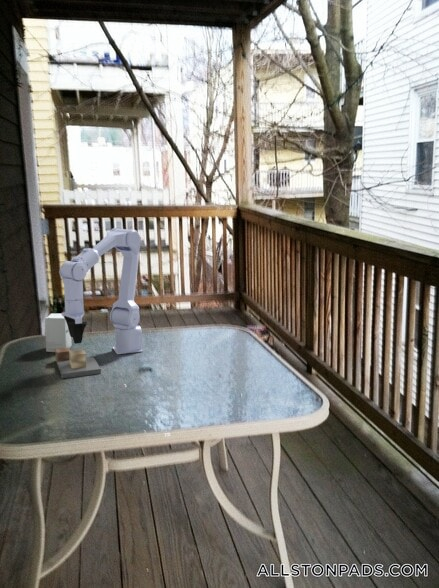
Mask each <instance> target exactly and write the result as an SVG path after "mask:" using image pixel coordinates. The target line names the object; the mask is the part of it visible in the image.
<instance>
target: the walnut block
mask: <svg viewBox="0 0 439 588" xmlns="http://www.w3.org/2000/svg"><path fill="white" fill-rule="evenodd" d="M55 351H56V352H55V362H56V363H57V362H58V361H67V360H70V357H69V351H72V350H71V347H70V348H69V347H66V348H57V349H55Z"/></svg>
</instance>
